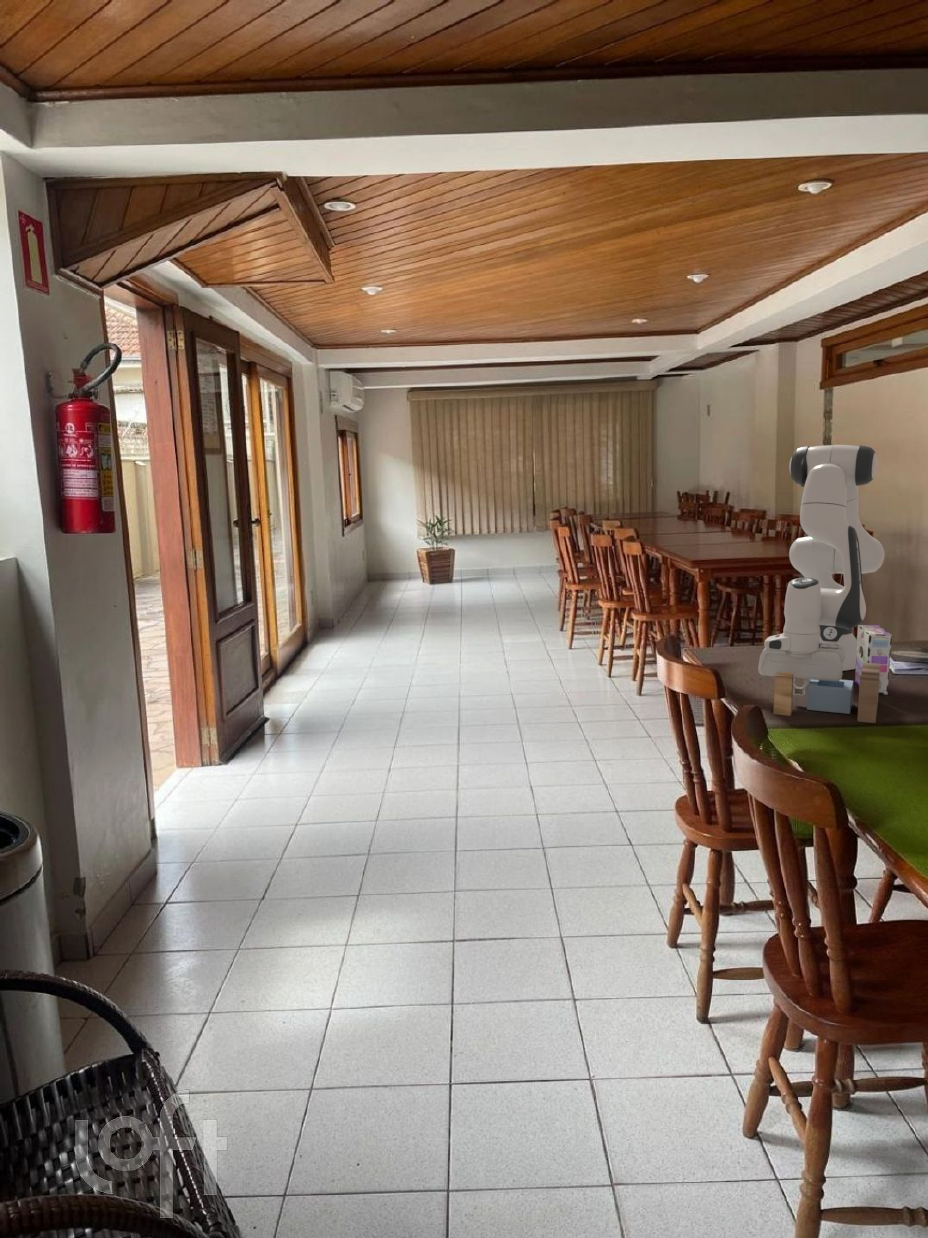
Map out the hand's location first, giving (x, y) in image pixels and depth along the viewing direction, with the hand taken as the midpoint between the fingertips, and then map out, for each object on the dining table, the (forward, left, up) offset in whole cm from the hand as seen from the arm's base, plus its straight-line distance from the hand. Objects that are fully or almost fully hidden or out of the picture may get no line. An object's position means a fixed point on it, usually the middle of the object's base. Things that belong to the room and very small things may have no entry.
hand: (798, 694), depth 231 cm
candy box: (-23, +16, -3) cm, 28 cm away
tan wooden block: (+9, -3, -3) cm, 10 cm away
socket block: (0, +7, -3) cm, 8 cm away
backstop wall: (0, +16, -2) cm, 17 cm away
